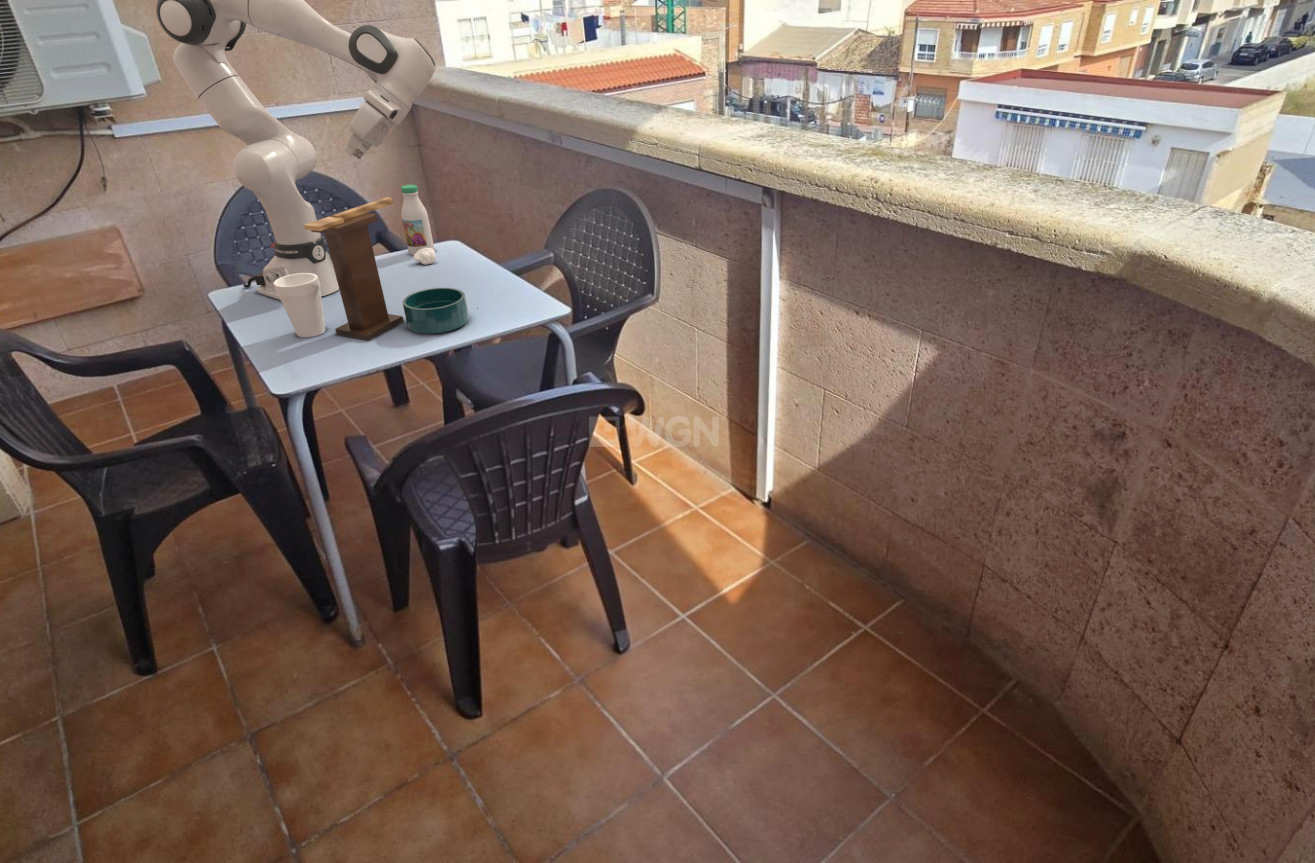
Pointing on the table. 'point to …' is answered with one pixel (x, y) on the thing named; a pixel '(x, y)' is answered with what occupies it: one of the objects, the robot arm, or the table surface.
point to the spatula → (347, 215)
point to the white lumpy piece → (425, 256)
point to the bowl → (435, 310)
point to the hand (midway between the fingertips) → (352, 155)
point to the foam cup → (302, 302)
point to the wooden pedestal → (358, 279)
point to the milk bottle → (415, 221)
